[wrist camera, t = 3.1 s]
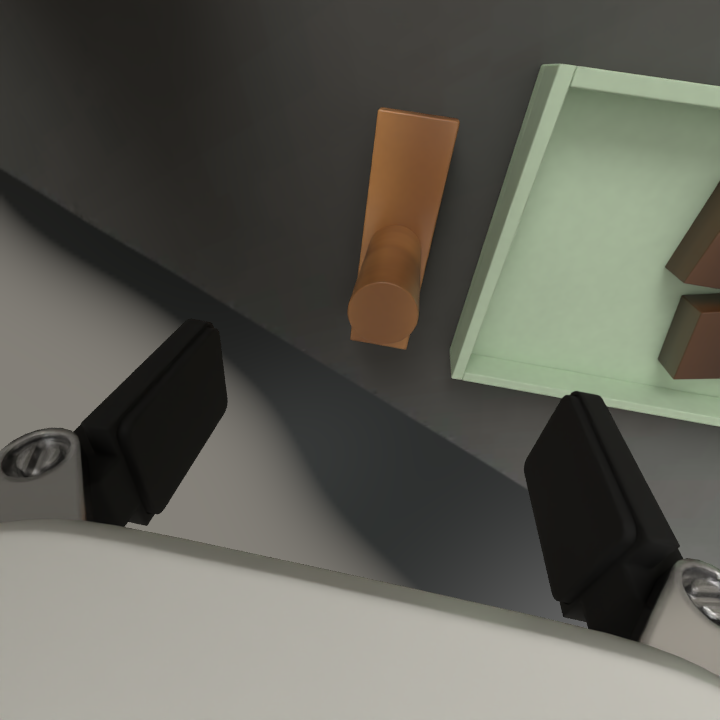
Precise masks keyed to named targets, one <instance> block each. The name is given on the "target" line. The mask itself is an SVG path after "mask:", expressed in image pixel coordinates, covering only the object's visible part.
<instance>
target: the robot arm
mask: <svg viewBox="0 0 720 720" xmlns="http://www.w3.org/2000/svg"><path fill="white" fill-rule="evenodd" d="M226 408H227V392H226V384H225V376H224V367H223V360H222V351H221V343H220V335H219V331H218V330H217V329H215V328H214V327H213V325H212V323H210V322H205V321H200V320H195V319H188V320H187V321H185V322H184V323H183V324H182V325H181V326H180V327H179V328H178V329H177V330H176V331H175V332H174V333H173V334H172V335H171V336H170V337H169V338H168V339H167V340H166V341H165V342H164V343H163V344H162V345H161V346H160V347H159V348H157V349H156V350H155V351H154V352H153V354H151V355H150V356H149V357H148V358H147V359H146V360H145V361H144V362H143V363H142V364H141V365H140V366H139V367H138V368H137V369H136V370H135V371H134V372H133V373H132V374H131V375H130V376H129V377H128V378H127V379H126V380H125V381H124V382H123V383H122V384H121V385H120V386H119V387H118V388H117V389H116V390H114V391H113V392H112V393H111V394H110V395H109V396H108V397H107V398H106V399H105V400H104V401H103V402H102V403H101V404H100V405H99V406H98V407H97V408H96V409H95V410H94V411H93V412H92V413H91V414H90V415H89V416H88V417H87V418H86V419H85V420H84V421H83V422H82V423H81V425H80V426H79V427H78V428H77V429H76V430H75V431H74V432H72V431H71V430H67V429H64V428H47V429H41V430H37V431H34V432H31V433H28V434H25V435H23V436H21V437H19V438H17V439H15V440H13V441H12V442H10V443H9V444H8V445H7V446H5V447H4V448H3V449H2V450H1V451H0V720H720V570H719V569H718V568H716V567H714V566H713V565H711V564H708V563H706V562H703V561H700V560H697V559H689V558H686V559H683V557H682V556H681V554H680V552H679V550H678V548H679V547H680V545H679V543H678V541H677V540H676V538H675V536H674V534H673V532H672V530H671V528H670V526H669V524H668V522H667V521H666V519H665V517H664V515H663V513H662V511H661V509H660V507H659V505H658V503H657V502H656V500H655V498H654V496H653V494H652V492H651V490H650V488H649V486H648V484H647V483H646V481H645V479H644V477H643V475H642V473H641V471H640V469H639V467H638V465H637V463H636V462H635V460H634V458H633V456H632V454H631V452H630V450H629V448H628V446H627V444H626V443H625V441H624V439H623V437H622V435H621V433H620V431H619V429H618V427H617V425H616V424H615V422H614V420H613V418H612V416H611V414H610V412H609V410H608V408H607V406H606V405H605V403H604V401H603V399H602V398H601V396H599V395H596V394H591V393H585V392H580V391H574V392H572V393H571V394H570V395H565V396H564V397H563V398H562V399H561V401H560V403H559V404H558V406H557V408H556V410H555V411H554V413H553V415H552V416H551V418H550V420H549V421H548V423H547V425H546V427H545V428H544V430H543V432H542V433H541V435H540V437H539V438H538V440H537V442H536V444H535V445H534V447H533V449H532V450H531V452H530V454H529V455H528V457H527V459H526V461H525V465H524V473H525V478H526V482H527V487H528V491H529V495H530V500H531V504H532V508H533V513H534V517H535V521H536V526H537V530H538V534H539V539H540V543H541V548H542V552H543V556H544V561H545V565H546V570H547V574H548V578H549V583H550V587H551V591H552V595H553V597H554V599H555V600H556V601H560V605H561V609H562V613H563V617H566V618H570V619H575V620H580V621H584V622H587V626H588V629H587V628H583V627H579V626H574V625H571V624H566V623H562V622H558V621H554V620H550V619H546V618H542V617H538V616H533V615H529V614H524V613H520V612H516V611H511V610H506V609H502V608H497V607H493V606H488V605H484V604H480V603H475V602H471V601H466V600H462V599H458V598H453V597H449V596H444V595H440V594H435V593H431V592H427V591H422V590H418V589H413V588H408V587H404V586H399V585H394V584H390V583H385V582H381V581H377V580H372V579H368V578H363V577H358V576H354V575H349V574H345V573H340V572H336V571H331V570H326V569H321V568H317V567H313V566H308V565H304V564H299V563H294V562H290V561H285V560H280V559H276V558H271V557H266V556H262V555H257V554H252V553H248V552H243V551H238V550H233V549H229V548H224V547H220V546H215V545H210V544H205V543H201V542H196V541H192V540H186V539H182V538H177V537H172V536H167V535H162V534H156V533H152V532H147V531H142V530H136V529H131V528H126V527H125V525H126V524H127V522H132V523H136V524H141V525H146V526H147V525H148V524H149V522H150V520H151V519H152V517H153V516H154V514H160V513H161V512H162V511H163V510H164V508H165V507H166V505H167V504H168V502H169V500H170V499H171V497H172V496H173V494H174V493H175V491H176V489H177V488H178V486H179V485H180V483H181V481H182V480H183V478H184V477H185V475H186V473H187V472H188V470H189V469H190V467H191V466H192V464H193V462H194V461H195V459H196V458H197V456H198V454H199V453H200V451H201V449H202V448H203V446H204V445H205V443H206V441H207V440H208V438H209V437H210V435H211V434H212V432H213V430H214V429H215V427H216V426H217V424H218V422H219V421H220V419H221V418H222V416H223V415H224V413H225V411H226Z"/></svg>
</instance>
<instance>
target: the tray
mask: <svg viewBox="0 0 720 720" xmlns="http://www.w3.org/2000/svg"><path fill="white" fill-rule="evenodd" d="M719 181H720V86H713V85H706V84H699V83H692V82H685V81H678V80H671V79H665V78H658V77H651V76H644V75H637V74H630V73H623V72H616V71H609V70H602V69H595V68H588V67H581V66H575V65H568V64H544V65H542V66H541V67H540V70H539V73H538V76H537V80H536V83H535V86H534V89H533V92H532V95H531V98H530V101H529V104H528V108H527V111H526V114H525V117H524V120H523V123H522V126H521V129H520V132H519V136H518V139H517V142H516V145H515V148H514V151H513V154H512V157H511V160H510V164H509V167H508V170H507V173H506V176H505V179H504V182H503V185H502V188H501V192H500V195H499V198H498V201H497V204H496V207H495V210H494V213H493V216H492V219H491V223H490V226H489V229H488V232H487V235H486V238H485V241H484V244H483V247H482V251H481V254H480V257H479V260H478V263H477V266H476V269H475V272H474V275H473V279H472V282H471V285H470V288H469V291H468V294H467V297H466V300H465V303H464V307H463V310H462V313H461V316H460V319H459V322H458V325H457V328H456V331H455V335H454V338H453V341H452V344H451V347H450V363H451V377H452V378H453V379H459V380H464V381H470V382H475V383H481V384H487V385H492V386H498V387H503V388H509V389H514V390H520V391H525V392H531V393H536V394H542V395H547V396H553V397H558V398H563V397H564V396H565V395H570V394H571V393H572V392H574V391H580V392H585V393H591V394H596V395H599V396H601V398H602V399H603V401H604V403H605V405H606V406H608V407H614V408H619V409H625V410H630V411H636V412H641V413H647V414H652V415H658V416H663V417H669V418H674V419H680V420H685V421H691V422H696V423H702V424H707V425H713V426H719V427H720V379H680V380H674V379H672V377H671V376H670V375H669V373H668V372H667V371H666V370H665V368H664V367H663V366H662V365H661V363H660V362H659V361H658V357H659V354H660V351H661V349H662V346H663V343H664V341H665V338H666V335H667V333H668V330H669V328H670V325H671V322H672V320H673V317H674V314H675V312H676V309H677V306H678V304H679V301H680V298H681V296H682V295H695V294H712V293H720V289H715V288H709V287H703V286H697V285H691V284H685V283H683V282H682V281H680V280H679V279H678V278H677V277H676V276H674V275H673V274H672V273H671V272H670V271H669V270H667V269H666V268H665V266H666V264H667V262H668V261H669V259H670V258H671V256H672V255H673V253H674V252H675V250H676V248H677V247H678V245H679V244H680V242H681V241H682V239H683V237H684V236H685V234H686V233H687V231H688V230H689V228H690V227H691V225H692V223H693V222H694V220H695V219H696V217H697V216H698V214H699V213H700V211H701V209H702V208H703V206H704V205H705V203H706V202H707V200H708V199H709V197H710V195H711V194H712V192H713V191H714V189H715V188H716V186H717V185H718V183H719Z"/></svg>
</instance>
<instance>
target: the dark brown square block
mask: <svg viewBox="0 0 720 720" xmlns="http://www.w3.org/2000/svg"><path fill="white" fill-rule="evenodd" d="M665 268H666V269H667V270H669V271H670V272H671V273H672V274H673V275H674V276H676V277H677V278H678V279H679V280H680V281H682V282H683V283H685V284H691V285H697V286H703V287H709V288H715V289H720V181H719V183H718V185H717V186H716V188H715V189H714V191H713V192H712V194H711V195H710V197H709V199H708V200H707V202H706V203H705V205H704V206H703V208H702V209H701V211H700V213H699V214H698V216H697V217H696V219H695V220H694V222H693V223H692V225H691V227H690V228H689V230H688V231H687V233H686V234H685V236H684V237H683V239H682V241H681V242H680V244H679V245H678V247H677V248H676V250H675V252H674V253H673V255H672V256H671V258H670V259H669V261H668V262H667V264H666V266H665Z"/></svg>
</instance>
